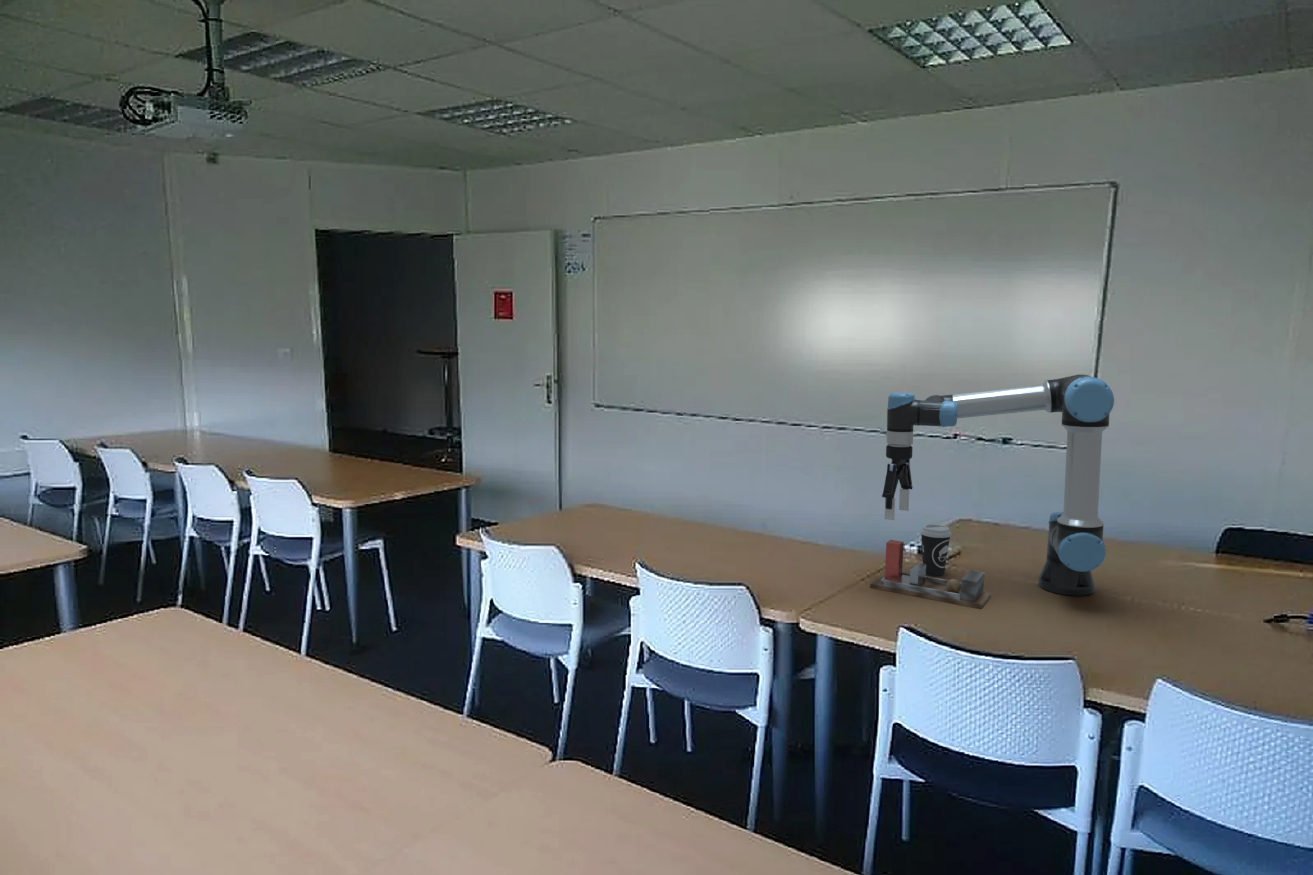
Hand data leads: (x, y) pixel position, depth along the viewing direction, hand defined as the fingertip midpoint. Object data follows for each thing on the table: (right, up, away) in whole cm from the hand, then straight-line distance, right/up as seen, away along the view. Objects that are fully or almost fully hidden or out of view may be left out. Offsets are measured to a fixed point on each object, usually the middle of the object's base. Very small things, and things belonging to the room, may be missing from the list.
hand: (896, 514), depth 244 cm
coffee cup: (+16, -20, +15) cm, 30 cm away
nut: (+15, -20, -7) cm, 26 cm away
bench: (+9, -23, -3) cm, 25 cm away
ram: (+2, -21, +2) cm, 21 cm away
